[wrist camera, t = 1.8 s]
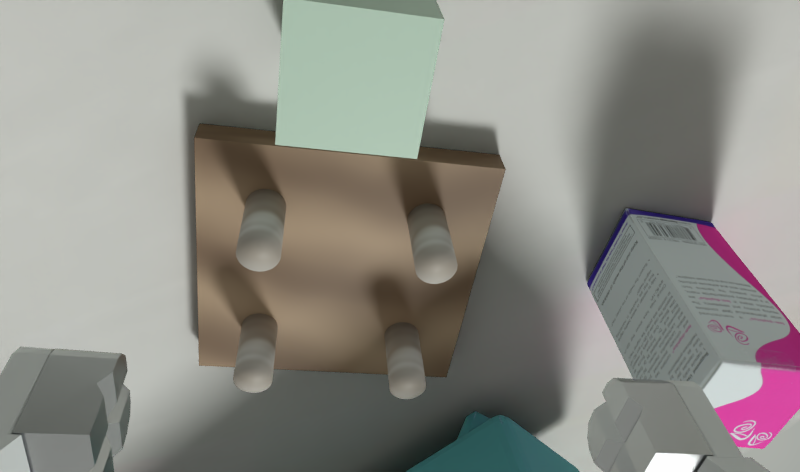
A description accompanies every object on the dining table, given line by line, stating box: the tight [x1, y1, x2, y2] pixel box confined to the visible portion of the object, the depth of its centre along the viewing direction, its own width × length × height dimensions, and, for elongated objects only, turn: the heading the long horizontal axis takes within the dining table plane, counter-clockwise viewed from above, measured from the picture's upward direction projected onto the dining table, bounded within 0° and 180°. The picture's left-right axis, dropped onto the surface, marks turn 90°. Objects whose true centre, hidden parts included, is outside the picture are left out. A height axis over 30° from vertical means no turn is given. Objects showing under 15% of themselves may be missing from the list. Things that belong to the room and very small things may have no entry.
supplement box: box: [587, 208, 800, 449], centre depth 34 cm, size 6×6×12 cm
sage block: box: [275, 0, 444, 159], centre depth 25 cm, size 5×5×9 cm
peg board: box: [194, 124, 506, 399], centre depth 35 cm, size 15×15×6 cm
